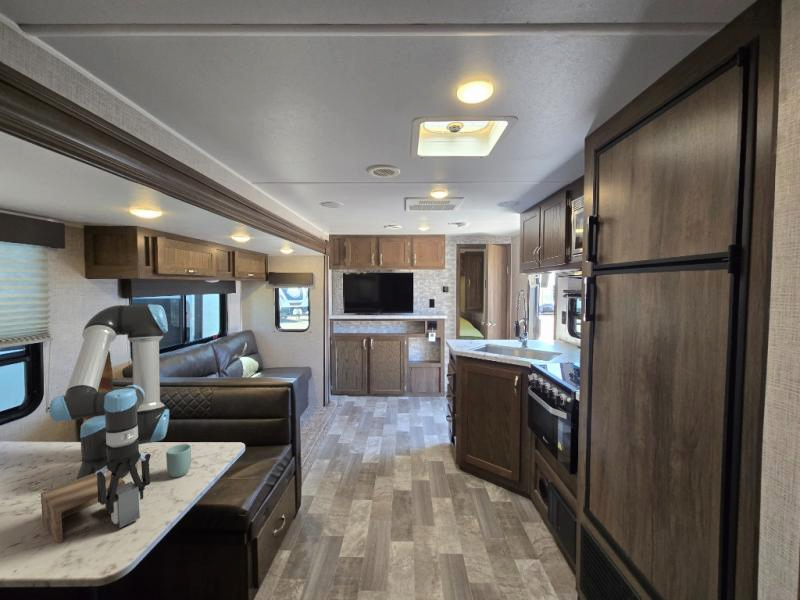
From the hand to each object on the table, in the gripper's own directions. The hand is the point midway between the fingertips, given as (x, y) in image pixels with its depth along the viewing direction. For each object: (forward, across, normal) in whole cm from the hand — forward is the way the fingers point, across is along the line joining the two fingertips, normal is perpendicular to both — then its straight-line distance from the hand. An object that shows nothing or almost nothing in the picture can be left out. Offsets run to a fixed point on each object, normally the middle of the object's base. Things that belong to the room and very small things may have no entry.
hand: (126, 515), depth 106 cm
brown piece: (+2, -6, +13) cm, 15 cm away
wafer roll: (+3, +12, +58) cm, 60 cm away
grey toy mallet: (+1, 0, +5) cm, 5 cm away
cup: (+2, +22, +15) cm, 27 cm away
